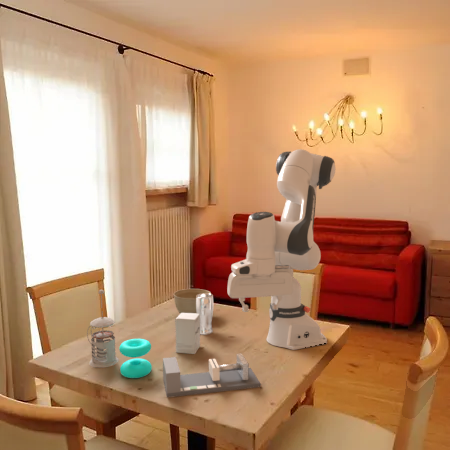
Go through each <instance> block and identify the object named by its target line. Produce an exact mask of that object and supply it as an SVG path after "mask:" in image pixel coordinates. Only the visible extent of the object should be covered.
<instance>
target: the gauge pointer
mask: <svg viewBox="0 0 450 450" xmlns="http://www.w3.org/2000/svg"><path fill="white" fill-rule="evenodd" d="M218 365H219V363H218V362H217V359H216V358H209V359H208V372H209V373H210V375H211V378H212V380H213V381H217V380H220V378H219V366H218Z"/></svg>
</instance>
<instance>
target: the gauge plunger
mask: <svg viewBox="0 0 450 450" xmlns="http://www.w3.org/2000/svg"><path fill="white" fill-rule="evenodd" d="M249 365H250V364H249V363H248V360H247V359H246V358H245V356H244V355H243V354H242V353H241V352H240V353H236V363H228V364H218V366H219V372H226V371H236V370H237V371H238V372H239V374H240V376H241V377H242V379H243V380H248V376H249V368H250V367H249Z"/></svg>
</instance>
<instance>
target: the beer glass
mask: <svg viewBox="0 0 450 450" xmlns="http://www.w3.org/2000/svg"><path fill="white" fill-rule="evenodd" d="M196 313H198V314H200V336H207V335H212V334H213V332H214V331H213V327H212V320H213V315H214V295H213V294H212V293H211V294H208V293H202V294H198V295H196Z"/></svg>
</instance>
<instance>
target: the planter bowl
mask: <svg viewBox="0 0 450 450" xmlns="http://www.w3.org/2000/svg"><path fill="white" fill-rule="evenodd" d="M202 293H208V294H212V293H211V291H209V290H206V289H200V288H186V289H185V288H183V289H180V290H177V291H175V292H174V293H173V299H174V305H175V308H176V310H177V312H178V314H180V313H196V295H198V294H202Z"/></svg>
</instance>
